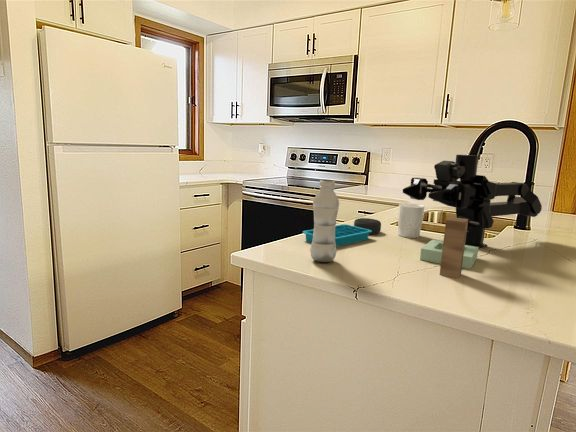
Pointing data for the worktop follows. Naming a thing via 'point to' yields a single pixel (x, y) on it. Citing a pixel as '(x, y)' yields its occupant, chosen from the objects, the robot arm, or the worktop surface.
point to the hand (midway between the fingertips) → (415, 193)
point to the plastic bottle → (324, 222)
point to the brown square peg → (453, 247)
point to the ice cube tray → (344, 234)
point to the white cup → (410, 220)
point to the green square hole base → (434, 253)
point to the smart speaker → (368, 224)
